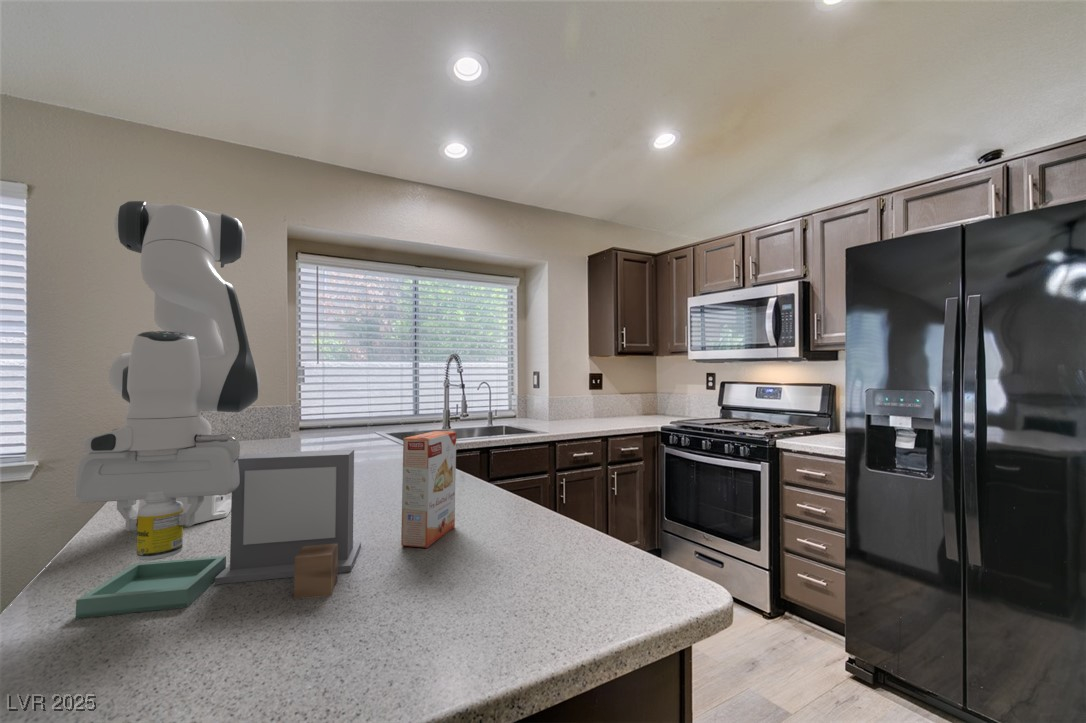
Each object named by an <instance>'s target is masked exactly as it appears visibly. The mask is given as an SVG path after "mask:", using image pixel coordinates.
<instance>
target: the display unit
mask: <svg viewBox="0 0 1086 723" xmlns="http://www.w3.org/2000/svg"><path fill="white" fill-rule="evenodd" d="M238 465H239V474H240V484H239V486H238V487H237V488H236V489H235V490H234V491H233V492H231V499H232V500H231V511H230V513H231V514H230V545H229V546H230V550H229V554H230V555H229V556H230V557H229V564H228V565H226V568H225V569H224V570H223V571H222V572H221V573H220V574H219V575H217V576H216V577H215V582H214V585H223V584H232V583H233V584H234V583H242V582H243V583H245V582H254V581H255V582H256V581H265V580H276V579H285V578H294V574H295V557H296V556H297V554H298V553H299V552H300V550H301V549H302V548H303V546H312V545H325V544H337V543H338V563H337V574H338V573H339V574H340V573H348V572H349V573H351V572H352V570H353V568H354V565H355V563H356V560H357V558H358V556H359V552H360V550H361V548H362V541H354V503H355V501H354V499H355V497H354V495H355V494H354V493H355V486H354V485H355V482H354V481H355V449H338V450H336V449H332V450H313V451H311V450H308V451H284V452H282V451H279V452H255V453H254V452H251V453H245V454H242V455H239V458H238Z"/></svg>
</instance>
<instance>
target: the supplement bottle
mask: <svg viewBox="0 0 1086 723" xmlns="http://www.w3.org/2000/svg"><path fill="white" fill-rule="evenodd" d="M144 501H145V502H146V505H144V506H142V507H141V508H140V509H139V510H138V509H137V514H138V525H137V530H136V531H137V533H136V535H137V536H136V557H137V559H138V560H140V561H147V562H148V561H149V562H151V561H157V560H163V559H165V558H166V559H167V558H171V557H173V556H176V555H177V554H179V553H181V552H182V550H183V545H184V544H183V543H184V540H183V539H184V536H183V535H184V527H179V525H178V523H179V516H180V515H182V514H183V504H182V503H181V502H180V501H176V498H166V497H165V496H164V494H163V492H149V493H147V496H146V499H144Z"/></svg>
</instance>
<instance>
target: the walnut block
mask: <svg viewBox="0 0 1086 723" xmlns="http://www.w3.org/2000/svg"><path fill="white" fill-rule="evenodd" d="M337 563H338V543H337V544H325V545H312V546H303V548H302V549H301V550H300V552H299V553H298V554H297V556H296V557H295V574H294V577H293V578H294V581H293V582H294V586H293V599H294V600H300V599H302V600H303V599H310V598H320V597H329V596H332V594H333V593H334V590H335V587H336V585H337V583H338V573H337Z"/></svg>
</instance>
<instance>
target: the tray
mask: <svg viewBox="0 0 1086 723" xmlns="http://www.w3.org/2000/svg"><path fill="white" fill-rule="evenodd" d="M226 567H227V555H221V556H220V555H219V556H210V557H209V556H206V557H197V558H196V557H195V558H185V559H173V560H172V559H171V560H159V561H149V562H148V561H147V562H138V563H137V562H136V563H133V564H131V565H130V566H128V567H127V568H126V569H124V570H122V571H121V572H119V573H118V574H116V575H114V576H113V577H111V578H109V579H107V580H106V581H104V582H103V583H101V584H100V585H98V586H96V587H95V588H93V589H92V590H90V591H88V592H86V593H85V594H83V595H81V596H80V597H79V598H77V599H75V620H76V619H77V620H78V619H85V618H87V619H89V618H95V617H107V616H115V615H124V614H125V615H126V614H136V613H142V612H143V613H144V612H145V613H146V612H155V611H162V610H163V611H164V610H172V609H173V610H174V609H183V608H188V607H189V606H191V604H192V603H193V602H195V600H197V599H198V598H199V597H200V596H201V595H202V594H203V593H204V592H205V591H206V590H207V589H208V588H209V587H210V586H212V585H213V584H214V583H215V577H216V576H217V575H219V574H220V573H221V572H222V571H223V570H224V569H225V568H226Z"/></svg>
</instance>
